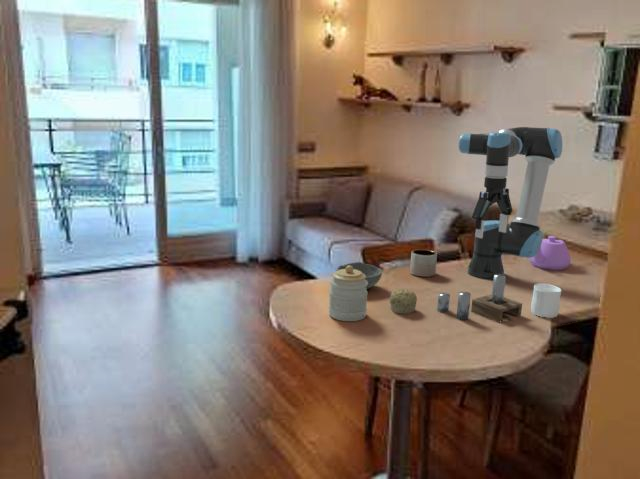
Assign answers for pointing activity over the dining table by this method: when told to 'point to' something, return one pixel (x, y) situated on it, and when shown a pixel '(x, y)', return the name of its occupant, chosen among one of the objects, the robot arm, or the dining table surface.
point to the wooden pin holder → (495, 307)
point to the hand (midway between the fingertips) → (490, 234)
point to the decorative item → (403, 301)
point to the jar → (348, 295)
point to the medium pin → (463, 306)
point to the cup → (545, 300)
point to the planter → (423, 263)
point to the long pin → (498, 289)
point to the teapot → (552, 255)
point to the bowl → (366, 272)
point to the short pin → (443, 302)
